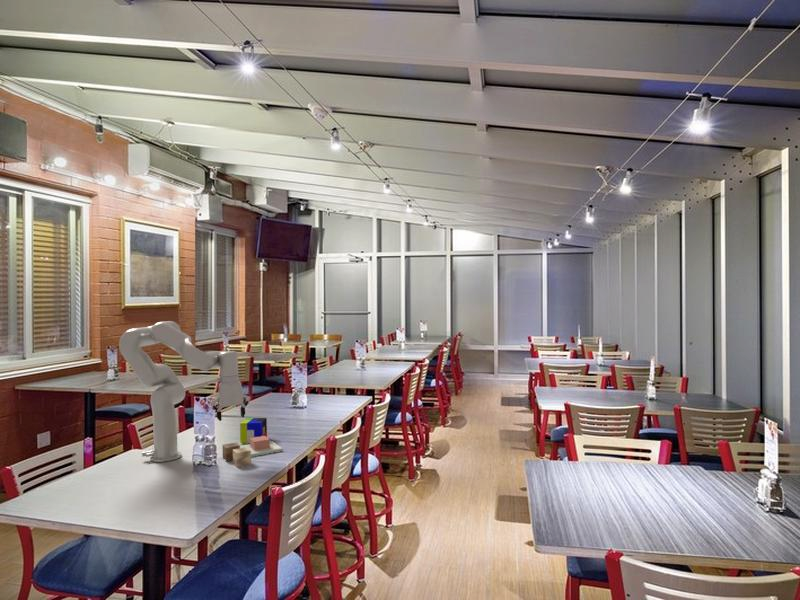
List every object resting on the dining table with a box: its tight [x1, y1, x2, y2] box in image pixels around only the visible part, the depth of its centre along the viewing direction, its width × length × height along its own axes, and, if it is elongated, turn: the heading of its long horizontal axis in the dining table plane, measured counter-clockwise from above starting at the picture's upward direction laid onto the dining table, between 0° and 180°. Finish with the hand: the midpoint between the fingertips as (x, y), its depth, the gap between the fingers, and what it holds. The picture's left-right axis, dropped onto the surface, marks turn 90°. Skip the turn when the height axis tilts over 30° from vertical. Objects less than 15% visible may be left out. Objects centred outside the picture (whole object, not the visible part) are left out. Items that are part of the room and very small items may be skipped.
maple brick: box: [232, 447, 252, 468], centre depth 215 cm, size 6×6×6 cm
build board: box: [240, 436, 283, 458], centre depth 234 cm, size 16×16×5 cm
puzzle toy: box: [239, 417, 268, 443], centre depth 249 cm, size 10×10×10 cm
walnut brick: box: [222, 442, 241, 462], centre depth 222 cm, size 6×6×6 cm
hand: (231, 418), depth 223 cm, fingers open, 9 cm apart
